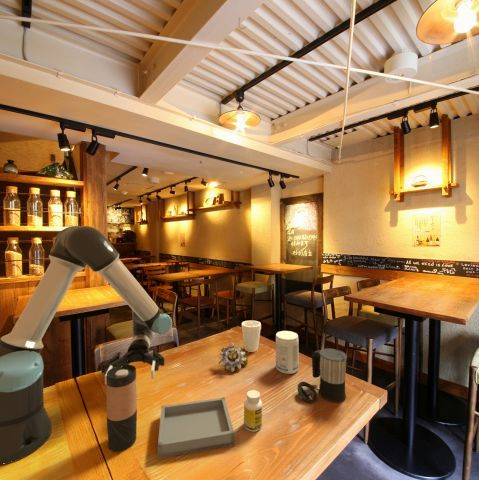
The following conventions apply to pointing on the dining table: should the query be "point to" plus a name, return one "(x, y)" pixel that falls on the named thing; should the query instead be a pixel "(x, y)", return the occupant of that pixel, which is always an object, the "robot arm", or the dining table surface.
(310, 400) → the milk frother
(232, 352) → the passion flower
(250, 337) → the foam cup
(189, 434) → the tray
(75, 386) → the dining table surface
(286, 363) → the supplement tub
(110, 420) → the travel mug
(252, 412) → the supplement bottle
